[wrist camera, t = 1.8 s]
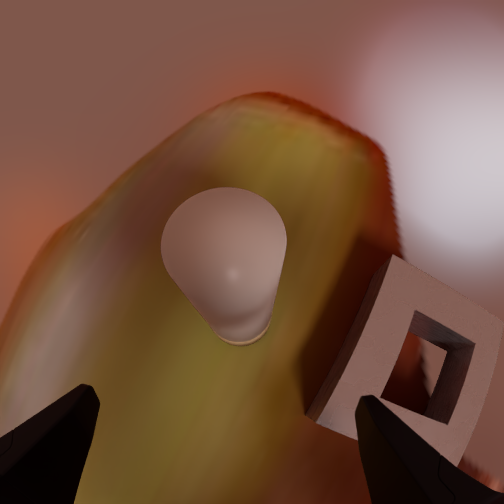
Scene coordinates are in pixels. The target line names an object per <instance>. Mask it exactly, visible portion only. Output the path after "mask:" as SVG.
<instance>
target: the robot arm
mask: <svg viewBox="0 0 504 504" xmlns="http://www.w3.org/2000/svg"><path fill="white" fill-rule="evenodd" d="M99 408H100V401H99V399H98V397H97V395H96V393H95V391H94V389H93V387H92V386H90V385H86V384H80V385H79V386H77V387H76V388H74V389H73V390H71V391H70V392H68V393H67V394H65V395H64V396H62V397H61V398H59V399H58V400H57V401H55V402H54V403H52V404H51V405H49V406H48V407H46V408H45V409H43V410H42V411H40V412H39V413H37V414H36V415H34V416H33V417H31V418H30V419H28V420H27V421H25V422H24V423H22V424H21V425H19V426H18V427H16V428H15V429H14V430H11V431H10V432H8V433H7V434H5V435H4V436H2V437H0V504H74V500H75V497H76V493H77V489H78V486H79V482H80V479H81V475H82V472H83V468H84V465H85V462H86V459H87V455H88V452H89V449H90V446H91V443H92V439H93V435H94V430H95V426H96V421H97V417H98V412H99ZM355 422H356V429H357V437H358V444H359V452H360V457H361V461H362V465H363V469H364V473H365V477H366V481H367V485H368V489H369V493H370V498H371V502H372V504H504V493H501V492H497V491H494V490H492V489H490V488H488V487H487V486H485V485H484V484H482V483H480V482H479V481H477V480H475V479H474V478H472V477H471V476H469V475H468V474H466V473H465V472H463V471H462V470H460V469H459V468H457V467H456V466H455V465H454V464H452V463H451V462H450V461H449V460H447V459H446V458H445V457H444V456H443V455H440V453H439V452H438V451H437V450H436V449H434V448H433V447H432V446H431V445H430V444H429V443H427V442H426V441H425V440H424V439H423V438H422V437H421V436H419V435H418V434H417V433H416V432H415V431H414V430H413V429H411V428H410V427H409V426H408V425H407V424H406V423H405V422H403V421H402V420H401V419H400V418H399V417H398V416H397V415H396V414H394V413H393V412H392V411H391V410H390V409H389V408H388V407H387V406H385V405H384V404H383V403H382V402H381V401H380V400H379V399H378V398H377V397H375V396H374V395H364V396H361V397H360V399H359V402H358V404H357V407H356V410H355Z"/></svg>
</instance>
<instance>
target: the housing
mask: <svg viewBox="0 0 504 504" xmlns="http://www.w3.org/2000/svg"><path fill="white" fill-rule="evenodd" d="M503 326H504V322H503V321H501V320H500V319H499V318H497V317H496V316H494V315H492V314H491V313H489V312H488V311H486V310H485V309H483V308H482V307H480V306H479V305H477V304H476V303H474V302H473V301H471V300H469V299H468V298H466V297H465V296H463V295H461V294H460V293H458V292H457V291H455V290H453V289H452V288H450V287H448V286H447V285H445V284H443V283H442V282H440V281H438V280H437V279H435V278H433V277H432V276H430V275H428V274H427V273H425V272H423V271H421V270H420V269H418V268H416V267H414V266H413V265H411V264H409V263H407V262H406V261H404V260H402V259H400V258H399V257H397V256H395V255H392V256H391V257H390V258H389V259H388V260H387V261H386V262H385V263H384V264H383V265H382V266H381V267H380V268H379V269H378V270H377V271H376V272H375V273H374V274H373V277H372V279H371V282H370V284H369V287H368V289H367V292H366V294H365V296H364V299H363V301H362V304H361V306H360V308H359V310H358V313H357V315H356V317H355V320H354V322H353V324H352V326H351V328H350V330H349V333H348V335H347V337H346V339H345V341H344V343H343V345H342V347H341V349H340V351H339V353H338V355H337V357H336V359H335V361H334V363H333V365H332V367H331V369H330V371H329V373H328V375H327V377H326V379H325V380H324V382H323V384H322V386H321V388H320V390H319V391H318V393H317V395H316V397H315V399H314V400H313V402H312V404H311V406H310V407H309V409H308V411H307V412H306V414H305V415H306V416H307V417H308V418H310V419H311V420H313V421H314V422H316V423H318V424H320V425H322V426H324V427H327V428H329V429H331V430H334V431H336V432H338V433H341V434H343V435H346V436H348V437H351V438H353V439H356V440H358V437H357V429H356V422H355V410H356V407H357V404H358V402H359V399H360V397H361V396H364V395H374V396H375V397H377V398H378V399H379V400H380V401H381V402H382V403H383V404H384V405H385V406H387V407H388V408H389V409H390V410H391V411H392V412H393V413H394V414H396V415H397V416H398V417H399V418H400V419H401V420H402V421H403V422H405V423H406V424H407V425H408V426H409V427H410V428H411V429H413V430H414V431H415V432H416V433H417V434H418V435H419V436H421V437H422V438H423V439H424V440H425V441H426V442H427V443H429V444H430V445H431V446H432V447H433V448H434V449H436V450H437V451H438V452H439V453H440V455H443V456H444V457H445V458H446V459H447V460H449V461H450V462H451V463H452V464H454V465H455V466H456V467H457V465H458V463H459V461H460V459H461V457H462V455H463V453H464V451H465V449H466V447H467V444H468V442H469V440H470V438H471V435H472V433H473V430H474V428H475V426H476V423H477V420H478V418H479V415H480V412H481V410H482V407H483V404H484V401H485V398H486V395H487V392H488V389H489V385H490V382H491V379H492V375H493V371H494V367H495V364H496V360H497V355H498V351H499V347H500V342H501V337H502V332H503ZM408 331H410V332H412V333H413V334H415V335H417V336H419V337H421V338H423V339H425V340H427V341H429V342H431V343H433V344H434V345H436V346H438V347H440V348H442V349H444V350H446V351H447V354H446V357H445V360H444V364H443V366H442V369H441V372H440V375H439V378H438V380H437V383H436V386H435V388H434V391H433V393H432V396H431V398H430V401H429V403H428V405H427V408H426V410H425V412H424V414H423V416H422V415H420V414H417V413H415V412H412V411H410V410H408V409H405V408H403V407H400V406H398V405H396V404H393V403H391V402H389V401H386V400H384V399H382V398H380V396H381V394H382V392H383V390H384V388H385V385H386V383H387V381H388V379H389V376H390V374H391V372H392V370H393V367H394V365H395V362H396V360H397V358H398V355H399V353H400V350H401V348H402V345H403V342H404V340H405V337H406V334H407V332H408Z"/></svg>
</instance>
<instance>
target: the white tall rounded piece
mask: <svg viewBox="0 0 504 504" xmlns="http://www.w3.org/2000/svg"><path fill="white" fill-rule="evenodd" d="M286 245H287V237H286V230H285V227H284V223H283V221H282V219H281V217H280V215H279V214H278V212H277V211H276V209H275V208H274V207H273V206H272V205H271V204H270V203H269V202H268V201H267V200H265V199H264V198H262V197H261V196H259V195H257V194H255V193H253V192H251V191H248V190H244V189H240V188H234V187H221V188H214V189H209V190H206V191H203V192H200V193H198V194H196V195H194V196H192V197H190V198H189V199H187V200H186V201H184V202H183V203H182V204H181V205H180V206H179V207H178V208H177V209H176V210H175V211H174V212H173V213H172V215H171V216H170V218H169V219H168V221H167V223H166V225H165V228H164V230H163V234H162V238H161V255H162V260H163V263H164V266H165V268H166V270H167V272H168V274H169V275H170V277H171V278H172V279H173V280H174V282H175V283H176V284H177V286H178V287H179V288H180V290H181V291H182V292H183V293H184V295H185V296H186V297H187V298H188V300H189V301H190V302H191V303H192V305H193V306H194V307H195V308H196V310H197V311H198V312H199V313H200V314H201V316H202V317H203V318H204V319H205V321H206V322H207V323H208V324H209V325H210V327H211V329H212V330H213V331H214V332H215V334H216V335H217V336H218V337H219V338H220V339H221V340H223V341H224V342H226V343H228V344H230V345H234V346H247V345H250V344H253V343H255V342H257V341H258V340H260V339H261V338H262V337H263V336H264V335H265V333H266V332H267V330H268V328H269V325H270V321H271V317H272V310H273V305H274V301H275V297H276V292H277V288H278V284H279V279H280V275H281V270H282V266H283V261H284V257H285V252H286Z"/></svg>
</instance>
